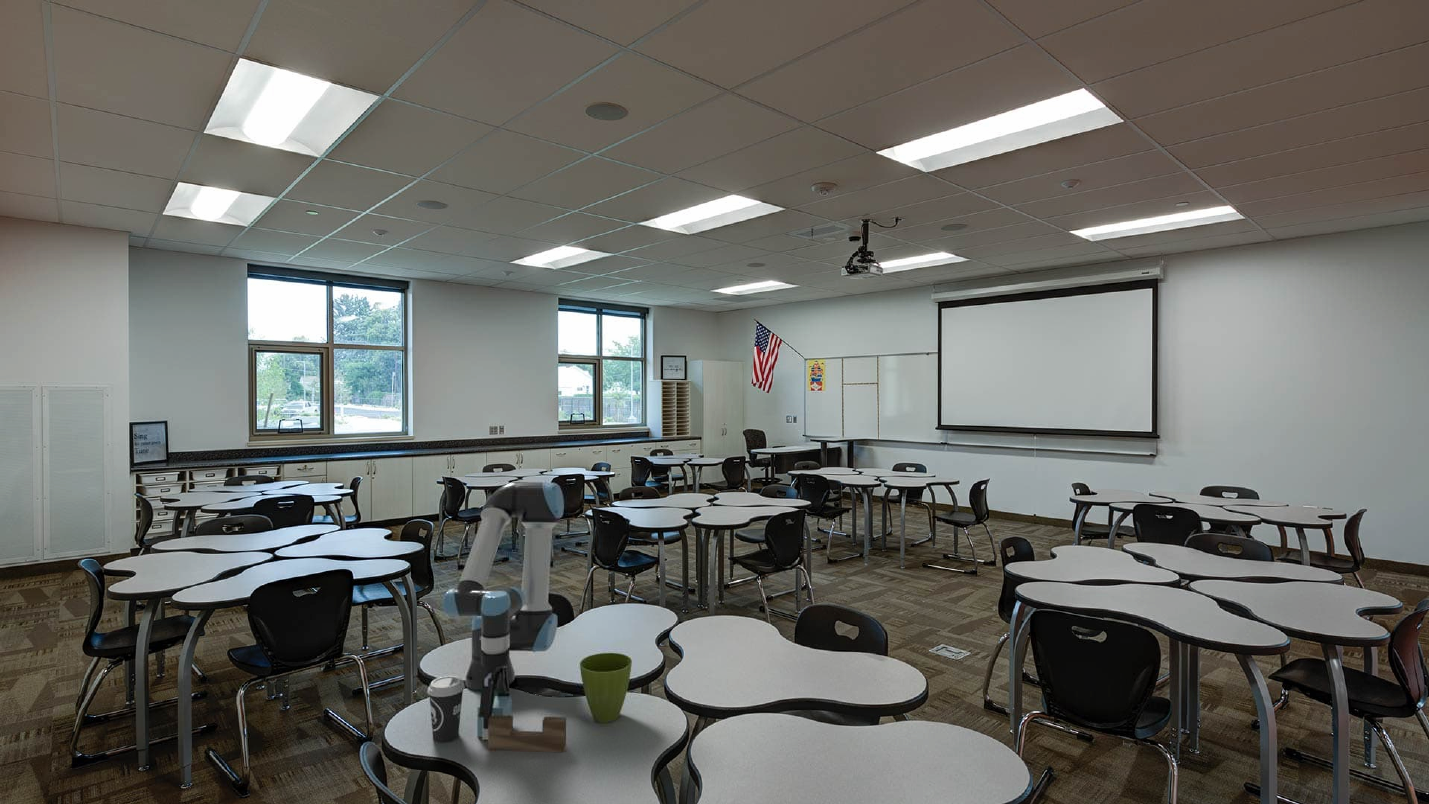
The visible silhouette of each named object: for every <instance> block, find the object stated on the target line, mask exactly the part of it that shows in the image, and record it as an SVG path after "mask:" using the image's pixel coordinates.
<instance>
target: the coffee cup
mask: <svg viewBox="0 0 1429 804" xmlns="http://www.w3.org/2000/svg"><path fill="white" fill-rule="evenodd" d="M464 682H465V681H463V679H462V678H461V677H460V676H457V675H446V676H445V675H444V676H441V677H437V678H434V679H433V680H432V681H431V682H430V684H429V686H428V688H427V691H426V693H427V694H428V695H429V708H430V717H431V718H430V720H431V732H432V740H433V741H434V742H436V743H448V742H451V741H454V740H456V739H457V738H458V737H459V733H460V723H461V714H462V713H461V712H462V704H463V703H462V702H463V692H464V689H466V684H465V683H464Z"/></svg>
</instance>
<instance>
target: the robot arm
mask: <svg viewBox="0 0 1429 804" xmlns="http://www.w3.org/2000/svg"><path fill="white" fill-rule="evenodd" d="M564 511H565V501H564V494H563V491H562V489H561V486H560V485H559V484H557V483H555V482H548V481H547V482H546V481H544V482H543V481H541V482H540V481H536V482H535V481H534V482H533V481H511V482H508V483H506V484H503V485H502V486H500V487H499V488H498V489H497V490H495V491H494V492H493V493H492V494H491V495H490V496H489V498H488V499H487V500H486V502H485V503H484V505H483V507H482V510H481V513H480V518H481V521H480V524H479V527H478V530H477V533H476V535H475V538H474V540H473V544H472V546H471V550H470V552H469V554H468V558H467V560H466V563H465V565H464V568H463V571H462V573H461V576H460V578H459V579H460V580H459V582H458V585H457V587H456V588H450V589H448V590H447V591H446V592H445V593H444V597H443V600H442V609H443V611H444V613H445V614H446V615H447V616H453V617H454V616H456V617H472V621H471V629H470V630H471V659H470V660H471V661H470V663H469V667H468V669H467V673H466V676H465V687H466V688H467V689H468V690H473V691H477V690H482V691H480V692H481V693H480V694H481V695H480V702H479V705H480V711H479V717H483V721H482V737H481V738H482V739H481V740H482V741H483V740H485V741H486V740H487V741H488V719H489V718H490V717H491V715H492V711H493V705H494V699H495V696H499V697H511V696H510V695H511V693H510V685H511V684H513V683H514V681H515V674H516V673H515V670H514V666H513V663H512V660H511V657H510V652H533V653H536V652H547V651H548V650H549V649H550V648H551V646H552V645H553V642H554V640H555V637H556V634H557V633H556V632H557V630H558V622H559V621H558V615H557V614H555V613H553V607H552V605H551V604H550V602H549V590H550V588H549V587H550V574H551V573H550V570H551V554H552V542H553V541H552V538H553V528H554V527H555V526H557V524H558V519H560V518H562V517H563V515H564ZM512 518H521V520H520V521H521V524H522V526H524V527H525V531H524V532H525V533H524V534H525V535H524V547H523V548H524V549H523V563H522V565H523V567H522V580H521V581H522V582H521V589H520V588H519V587H517V586H510V587H507V588H505V589H485V586H486V583H487V581H488V578H489V575H490V572H491V569H492V566H493V563H494V559H495V558H496V554H497V551H498V547H499V546H500V543H501V539H502V536H503V533H504V531H505V528H506V526H508V525H509V524H510V522H511V521H512Z"/></svg>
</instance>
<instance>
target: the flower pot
mask: <svg viewBox="0 0 1429 804" xmlns="http://www.w3.org/2000/svg"><path fill="white" fill-rule="evenodd" d="M632 664H633V660H632V658H631V657H630V656H628V655H625V654H623V653H618V652H601V653H595V654H591V655H588V656H586V657H584V658H583V659H581V661H580V662H579V668H580V677H581V681H582V686H583V690H584V694H585V698H586V702H587V704H588V708H589V710H590V712H591V716H592V718H593V720H594V721H595V722H598V723H610V722H614V721H616V720H617V719H619V717H620V714H621V712H622V708H623V706H624V704H625V700H626V696H627V691H628V688H629V683H630V678H631V677H630V676H631V671H632V666H633V665H632Z"/></svg>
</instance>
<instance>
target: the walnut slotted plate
mask: <svg viewBox="0 0 1429 804" xmlns="http://www.w3.org/2000/svg"><path fill="white" fill-rule="evenodd" d="M541 723H542V727H541V728H542V729H541V731H540V730H539V731H538V730H537V731H536V730H535V731H532V730H514V716H513V715H511V716H505V715H491V717H490V718H489V719H488V740H487V741H488V744H487V750H488V751H491V750H492V751H515V752H516V751H518V752H519V751H520V752H522V751H523V752H550V753H552V752H554V753H564V752H565V750H566V749H567V717H566V716H544V718H543V720H542V722H541Z"/></svg>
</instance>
